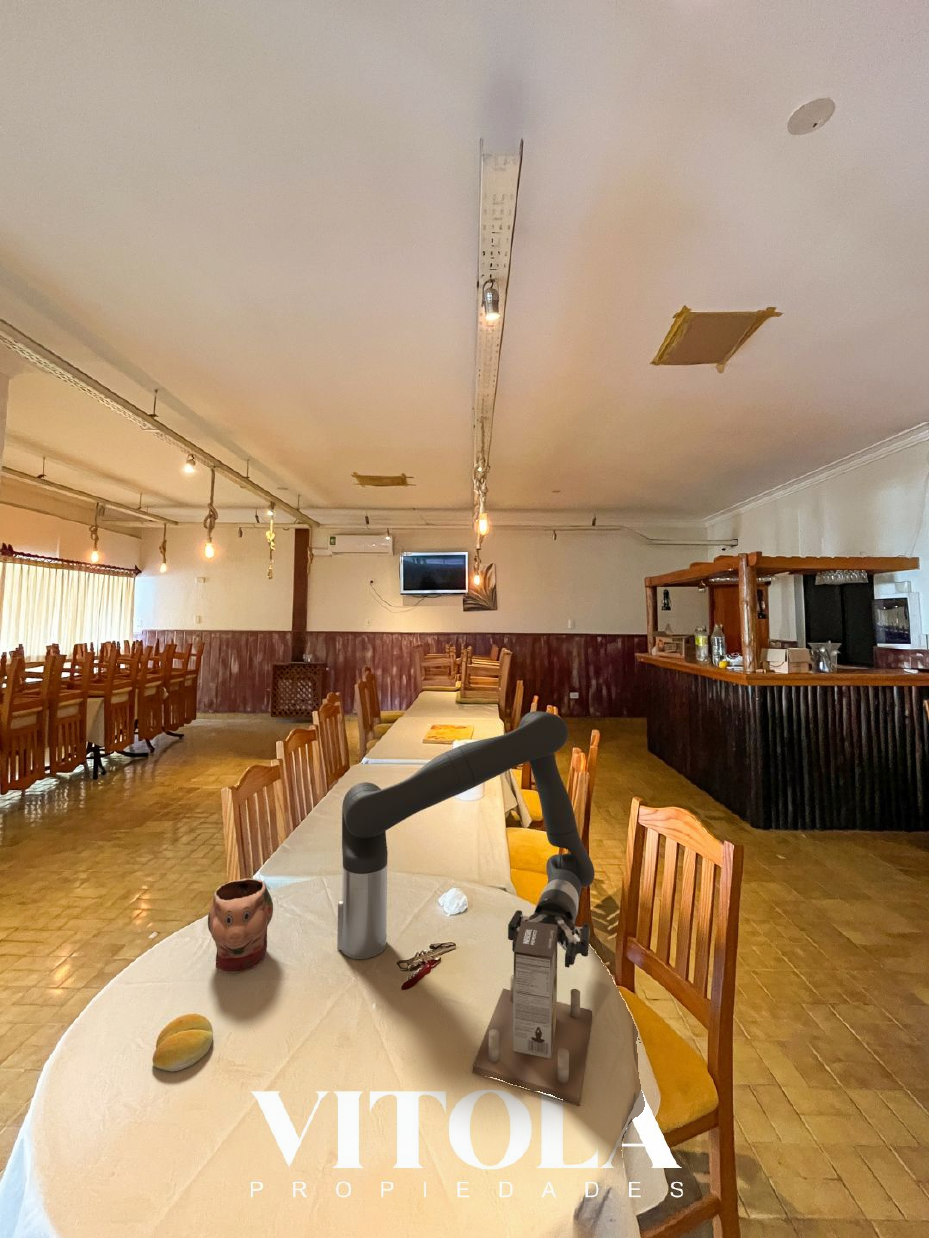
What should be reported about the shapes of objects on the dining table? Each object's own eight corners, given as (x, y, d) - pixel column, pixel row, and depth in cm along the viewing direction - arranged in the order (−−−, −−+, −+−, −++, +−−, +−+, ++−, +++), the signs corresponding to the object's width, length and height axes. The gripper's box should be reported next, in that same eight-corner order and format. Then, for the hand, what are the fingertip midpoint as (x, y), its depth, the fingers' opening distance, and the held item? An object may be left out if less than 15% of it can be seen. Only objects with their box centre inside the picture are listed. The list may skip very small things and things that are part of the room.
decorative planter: (208, 933, 116) (209, 869, 116) (269, 921, 121) (269, 859, 121) (205, 994, 98) (206, 917, 98) (276, 977, 103) (277, 904, 103)
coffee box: (519, 1010, 93) (521, 918, 93) (557, 1017, 92) (558, 923, 92) (511, 1052, 84) (513, 950, 84) (552, 1060, 83) (554, 956, 83)
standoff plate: (472, 1072, 82) (473, 1038, 82) (503, 994, 99) (503, 966, 99) (579, 1105, 77) (580, 1069, 77) (592, 1017, 94) (592, 987, 94)
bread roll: (148, 1081, 80) (149, 1054, 80) (159, 1036, 88) (160, 1012, 88) (210, 1065, 83) (210, 1039, 83) (215, 1024, 91) (215, 1000, 91)
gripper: (522, 881, 109) (500, 925, 93) (595, 895, 104) (584, 943, 89) (521, 919, 109) (500, 968, 93) (594, 933, 104) (584, 988, 89)
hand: (541, 956), depth 91 cm, fingers open, 8 cm apart
